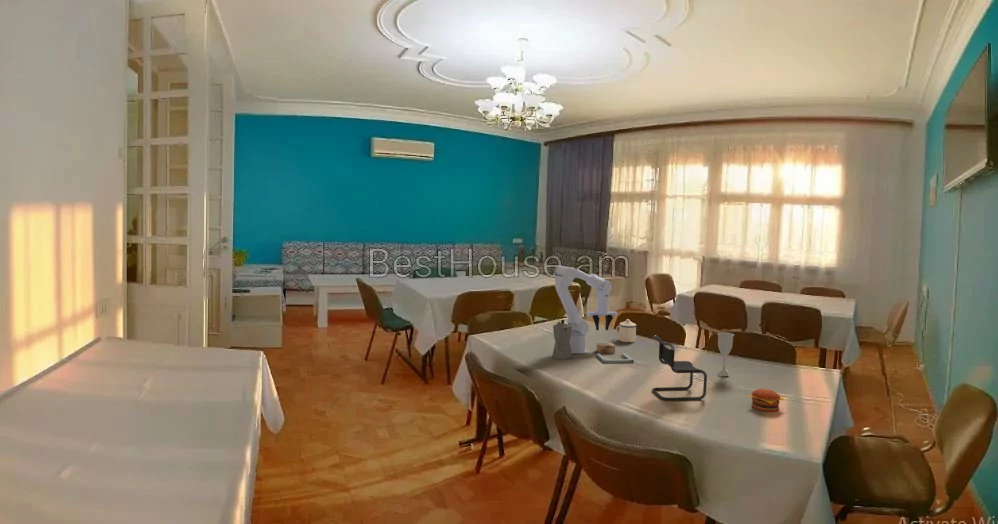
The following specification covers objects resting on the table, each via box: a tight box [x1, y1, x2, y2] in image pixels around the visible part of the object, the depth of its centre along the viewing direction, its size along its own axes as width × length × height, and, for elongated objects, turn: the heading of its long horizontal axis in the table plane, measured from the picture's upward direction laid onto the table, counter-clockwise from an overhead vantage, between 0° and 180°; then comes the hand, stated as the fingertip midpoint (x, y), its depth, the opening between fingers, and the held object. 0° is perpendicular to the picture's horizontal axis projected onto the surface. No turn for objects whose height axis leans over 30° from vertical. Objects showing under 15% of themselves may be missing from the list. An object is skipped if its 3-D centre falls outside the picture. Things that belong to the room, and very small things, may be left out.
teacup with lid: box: [615, 318, 637, 343], centre depth 307 cm, size 12×9×12 cm
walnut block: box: [596, 342, 616, 354], centre depth 282 cm, size 8×5×4 cm, turn 93°
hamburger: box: [747, 388, 785, 413], centre depth 206 cm, size 9×10×7 cm
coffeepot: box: [552, 319, 572, 360], centre depth 272 cm, size 15×9×18 cm, turn 8°
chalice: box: [717, 331, 735, 377], centre depth 245 cm, size 7×7×18 cm
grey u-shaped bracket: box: [595, 352, 635, 364], centre depth 269 cm, size 14×12×1 cm
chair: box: [651, 335, 708, 402], centre depth 218 cm, size 13×17×22 cm
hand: (602, 329), depth 288 cm, fingers open, 4 cm apart
